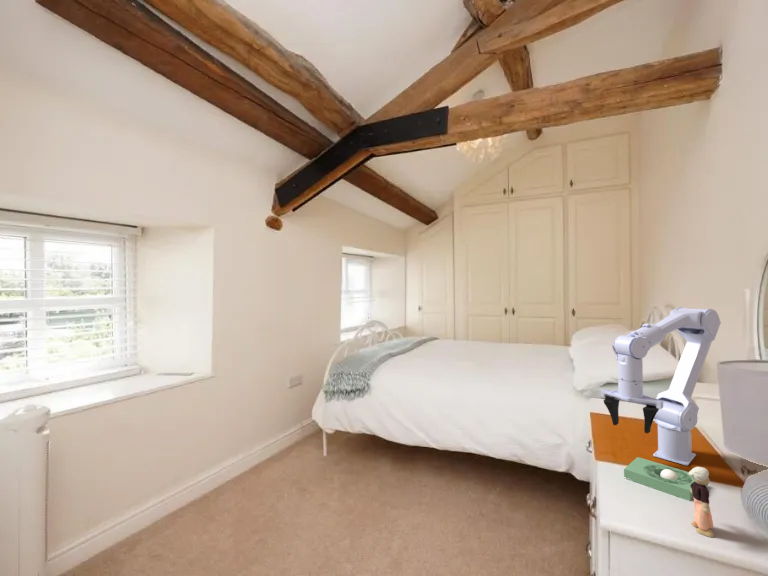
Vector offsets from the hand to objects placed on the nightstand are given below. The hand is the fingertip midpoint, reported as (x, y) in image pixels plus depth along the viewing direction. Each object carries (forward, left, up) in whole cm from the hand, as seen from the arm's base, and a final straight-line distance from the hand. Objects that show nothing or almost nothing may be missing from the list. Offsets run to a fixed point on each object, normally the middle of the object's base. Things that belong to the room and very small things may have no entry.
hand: (631, 428), depth 103 cm
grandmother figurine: (+19, +19, -11) cm, 29 cm away
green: (+4, +7, -10) cm, 13 cm away
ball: (+4, +9, -9) cm, 13 cm away
